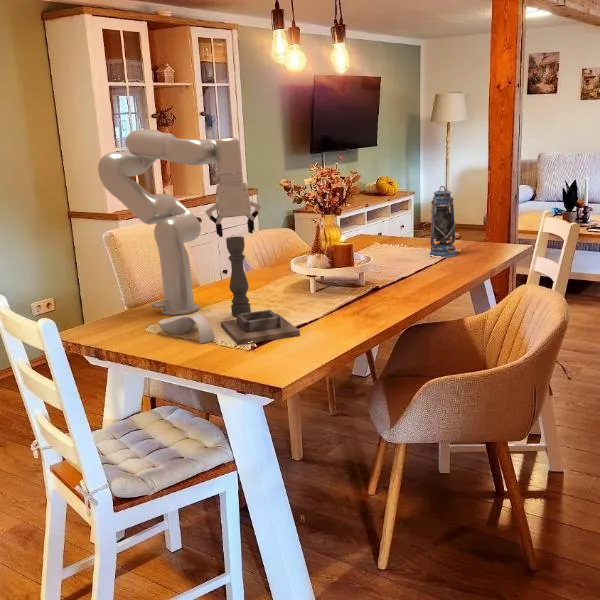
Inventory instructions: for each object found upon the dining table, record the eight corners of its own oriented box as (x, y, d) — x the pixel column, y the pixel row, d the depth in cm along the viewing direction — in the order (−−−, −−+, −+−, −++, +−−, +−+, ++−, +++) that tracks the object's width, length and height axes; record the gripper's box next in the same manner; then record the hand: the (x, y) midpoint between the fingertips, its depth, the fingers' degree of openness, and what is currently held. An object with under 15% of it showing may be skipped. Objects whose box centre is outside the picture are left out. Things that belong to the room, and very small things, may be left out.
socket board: (238, 345, 190) (236, 329, 188) (220, 326, 210) (219, 311, 209) (300, 335, 195) (299, 320, 194) (277, 317, 215) (276, 303, 214)
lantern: (444, 251, 311) (443, 184, 304) (465, 254, 301) (465, 184, 294) (420, 256, 302) (418, 187, 295) (441, 259, 292) (440, 188, 285)
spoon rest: (152, 332, 209) (149, 309, 207) (186, 324, 216) (184, 301, 214) (190, 348, 191) (188, 323, 189) (226, 338, 198) (224, 314, 196)
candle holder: (252, 312, 224) (246, 235, 219) (249, 317, 219) (242, 238, 213) (233, 312, 225) (227, 236, 219) (230, 317, 219) (223, 239, 213)
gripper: (205, 182, 206) (211, 239, 210) (260, 177, 211) (265, 232, 215) (200, 181, 213) (206, 236, 217) (254, 176, 218) (259, 230, 222)
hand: (235, 234), depth 216 cm, fingers open, 9 cm apart
